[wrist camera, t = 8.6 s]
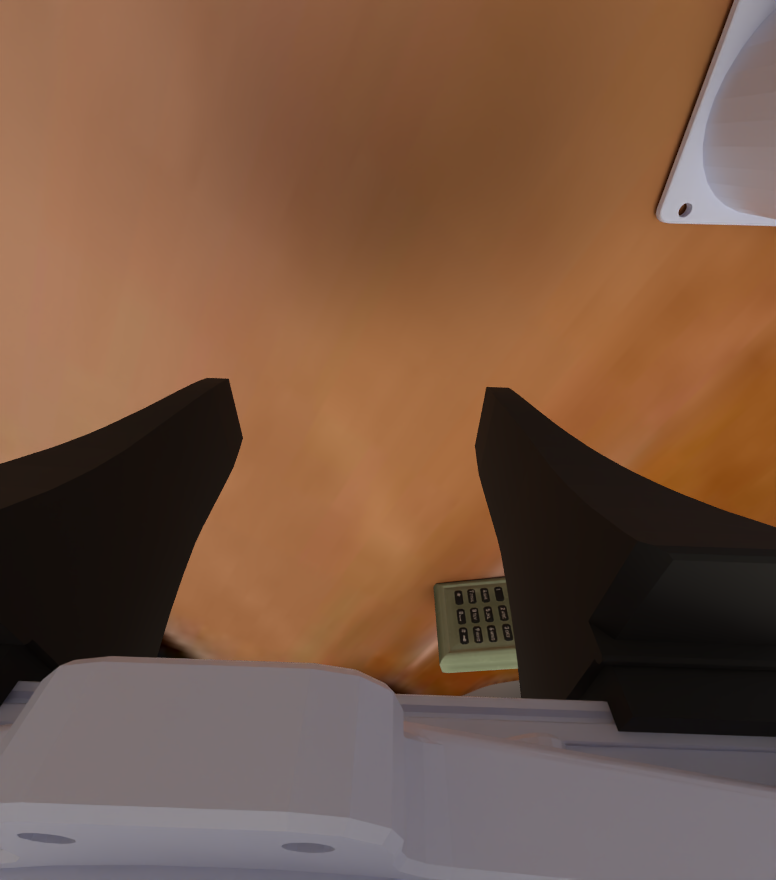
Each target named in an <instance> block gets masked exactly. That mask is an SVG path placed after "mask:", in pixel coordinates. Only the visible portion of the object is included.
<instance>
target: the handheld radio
mask: <svg viewBox="0 0 776 880" xmlns="http://www.w3.org/2000/svg"><path fill="white" fill-rule="evenodd" d="M434 599H435V611H436V624H437V637H438V650H439V662H440V667H441V670H442V672H446V673H454V672H469V671H484V670H499V669H515V668H518V663H517V656H516V648H515V640H514V633H513V625H512V618H511V611H510V605H509V598H508V592H507V585H506V579H505V577H501V578H491V579H481V580H470V581H460V582H450V583H440V584H435V585H434Z"/></svg>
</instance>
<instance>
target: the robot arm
mask: <svg viewBox="0 0 776 880" xmlns="http://www.w3.org/2000/svg"><path fill="white" fill-rule="evenodd" d="M684 204H686V205H687V208H686V210H685V212H684V213H683V214H682V215H680V216H679V214H678V213H679V209H680V208H681V206H682V205H684ZM656 216H657V219H658V220H659V221H661V222H665V223H678V224H716V225H755V226H776V0H734V2H733V5H732V8H731V10H730V13H729V16H728V19H727V21H726V24H725V27H724V29H723V32H722V35H721V37H720V40H719V43H718V45H717V48H716V51H715V54H714V56H713V59H712V62H711V64H710V67H709V70H708V72H707V75H706V78H705V81H704V83H703V86H702V89H701V91H700V94H699V97H698V99H697V102H696V105H695V108H694V110H693V113H692V116H691V118H690V121H689V124H688V126H687V129H686V132H685V135H684V137H683V140H682V143H681V145H680V148H679V151H678V153H677V156H676V159H675V162H674V164H673V167H672V170H671V172H670V175H669V178H668V180H667V183H666V186H665V189H664V191H663V194H662V197H661V199H660V202H659V205H658V207H657V211H656ZM242 439H243V436H242V432H241V428H240V424H239V420H238V416H237V412H236V407H235V403H234V399H233V395H232V391H231V387H230V383H229V379H220V378H206V379H203V380H200V381H198V382H195V383H193V384H191V385H189V386H187V387H185V388H183V389H181V390H179V391H177V392H175V393H173V394H171V395H169V396H167V397H165V398H163V399H161V400H159V401H158V402H156V403H154V404H152V405H150V406H148V407H146V408H144V409H142V410H140V411H138V412H136V413H133V414H131V415H129V416H127V417H125V418H123V419H121V420H119V421H116V422H114V423H112V424H110V425H108V426H106V427H104V428H101V429H99V430H97V431H94V432H92V433H89V434H87V435H84V436H82V437H79V438H77V439H74V440H71V441H69V442H66V443H63V444H61V445H58V446H55V447H52V448H49V449H46V450H43V451H40V452H37V453H33V454H30V455H27V456H24V457H21V458H18V459H15V460H11V461H8V462H5V463H2V464H0V880H776V527H773V526H770V525H767V524H764V523H761V522H758V521H755V520H752V519H749V518H746V517H743V516H740V515H737V514H733V513H730V512H727V511H724V510H722V509H719V508H716V507H714V506H711V505H708V504H706V503H703V502H701V501H698V500H696V499H693V498H690V497H688V496H685V495H683V494H680V493H678V492H676V491H673V490H671V489H669V488H666V487H664V486H662V485H660V484H658V483H655V482H653V481H651V480H649V479H647V478H645V477H643V476H641V475H638V474H636V473H634V472H632V471H630V470H628V469H626V468H625V467H623V466H621V465H619V464H617V463H615V462H614V461H612V460H610V459H608V458H607V457H605V456H603V455H601V454H600V453H598V452H596V451H595V450H593V449H591V448H590V447H588V446H586V445H585V444H583V443H582V442H581V441H579V440H578V439H576V438H575V437H573V436H572V435H570V434H569V433H567V432H566V431H565V430H563V429H562V428H560V427H559V426H558V425H556V424H555V423H554V422H552V421H551V420H550V419H548V418H547V417H546V416H545V415H543V414H542V413H541V412H539V411H538V410H537V409H536V408H534V407H533V406H532V405H531V404H529V403H528V402H527V401H526V400H524V399H523V398H522V397H521V396H519V395H518V394H517V393H515V392H514V391H513V390H511V389H510V388H498V387H486V392H485V398H484V403H483V408H482V413H481V418H480V423H479V428H478V433H477V438H476V443H475V449H476V457H477V465H478V471H479V477H480V480H481V484H482V487H483V491H484V494H485V498H486V501H487V505H488V508H489V512H490V515H491V518H492V522H493V525H494V529H495V532H496V535H497V539H498V543H499V547H500V551H501V556H502V562H503V568H504V573H505V579H506V585H507V592H508V598H509V605H510V611H511V618H512V625H513V633H514V640H515V648H516V656H517V663H518V672H519V682H520V691H521V698H494V697H467V696H438V695H409V694H394V692H393V691H392V690H391V689H390V688H389V687H388V686H387V685H386V684H385V683H383V682H381V681H379V680H377V679H375V678H372V677H370V676H368V675H366V674H364V673H362V672H360V671H358V670H355V669H348V668H342V667H335V666H329V665H322V664H316V663H294V662H265V661H236V660H207V659H178V658H157V655H158V651H159V648H160V645H161V641H162V638H163V635H164V632H165V628H166V625H167V622H168V618H169V615H170V612H171V609H172V606H173V603H174V600H175V597H176V594H177V591H178V588H179V585H180V583H181V580H182V577H183V574H184V571H185V569H186V566H187V563H188V561H189V558H190V555H191V553H192V550H193V547H194V545H195V542H196V540H197V538H198V536H199V534H200V532H201V529H202V527H203V525H204V524H205V522H206V520H207V518H208V516H209V514H210V512H211V510H212V508H213V506H214V504H215V502H216V500H217V499H218V497H219V495H220V493H221V491H222V489H223V487H224V485H225V483H226V481H227V479H228V477H229V475H230V473H231V471H232V469H233V467H234V464H235V461H236V458H237V456H238V452H239V449H240V446H241V443H242Z"/></svg>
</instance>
